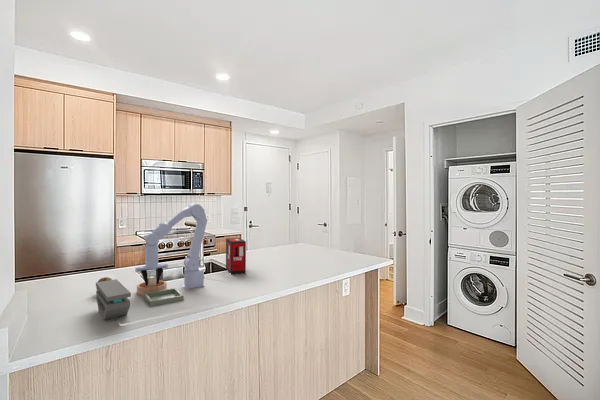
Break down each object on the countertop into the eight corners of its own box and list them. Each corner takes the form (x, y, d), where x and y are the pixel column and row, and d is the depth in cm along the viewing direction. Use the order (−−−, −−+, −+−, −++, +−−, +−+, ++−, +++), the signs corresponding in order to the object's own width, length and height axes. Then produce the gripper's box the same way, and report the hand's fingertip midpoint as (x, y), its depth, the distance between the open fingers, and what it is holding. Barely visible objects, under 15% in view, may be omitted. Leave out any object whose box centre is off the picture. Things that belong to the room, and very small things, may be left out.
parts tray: (175, 293, 153) (175, 287, 153) (183, 301, 142) (183, 295, 142) (144, 298, 145) (144, 293, 145) (150, 307, 133) (150, 301, 133)
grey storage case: (95, 307, 133) (95, 282, 133) (116, 303, 138) (116, 279, 138) (107, 326, 115) (107, 297, 114) (130, 320, 120) (130, 292, 120)
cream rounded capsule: (155, 284, 157) (155, 275, 157) (157, 286, 153) (157, 277, 153) (146, 285, 154) (146, 277, 154) (148, 288, 151) (148, 279, 151)
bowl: (162, 286, 163) (162, 279, 163) (169, 293, 153) (169, 285, 153) (135, 291, 155) (134, 283, 155) (139, 298, 145) (139, 289, 145)
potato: (93, 300, 141) (93, 283, 141) (97, 292, 153) (97, 276, 153) (114, 298, 145) (114, 281, 145) (116, 290, 156) (116, 274, 156)
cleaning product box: (245, 273, 193) (245, 241, 192) (231, 274, 189) (231, 242, 189) (239, 267, 208) (239, 237, 207) (225, 268, 204) (226, 238, 204)
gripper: (137, 260, 146) (137, 288, 146) (169, 256, 155) (169, 283, 155) (134, 257, 152) (134, 285, 152) (165, 254, 160) (165, 280, 161)
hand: (151, 284), depth 154 cm, fingers closed on cream rounded capsule, 4 cm apart
